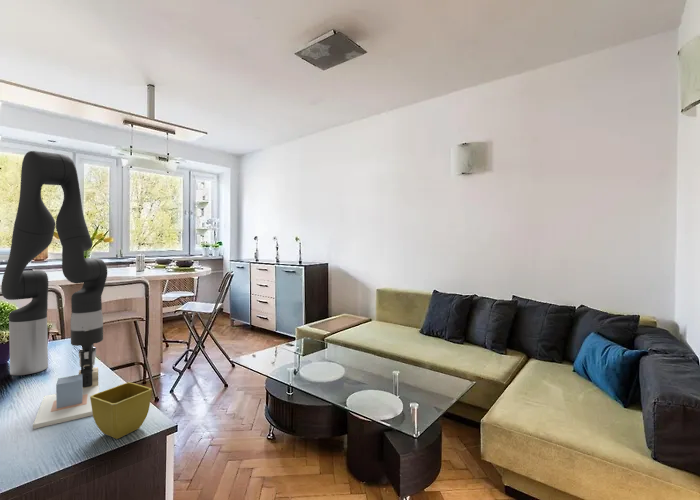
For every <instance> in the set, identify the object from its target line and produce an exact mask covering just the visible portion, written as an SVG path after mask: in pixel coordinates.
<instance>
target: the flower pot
mask: <svg viewBox="0 0 700 500" xmlns="http://www.w3.org/2000/svg"><path fill="white" fill-rule="evenodd" d="M152 391H153V388H151V387H148V386H144V385H141V384H137V383H134V382H130V381H129V382H125V383H122V384H120V385H117V386H114V387H111V388H108V389H105V390H102V391H101V392H100V391H99V393H97V394H94V395H92V396H90V399H91V406H92V412H93V415H92V416H93V421H94V422H95V425H96V426H97V428H98V429H99V430H100V431H101V433H103V434H104V435H106V436H108V437H111V438H112V439H113V438H114V439H116V440H117V439H120V438H122V437H125V436H126V435H129V434H131V433H133V432H134V431H137V430H138V429H140V428H141V426H142V425H143V423H144V422H145V420H146V419H147V416H148V413H149V411H150V405H151V400H152V399H151V398H152Z"/></svg>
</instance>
